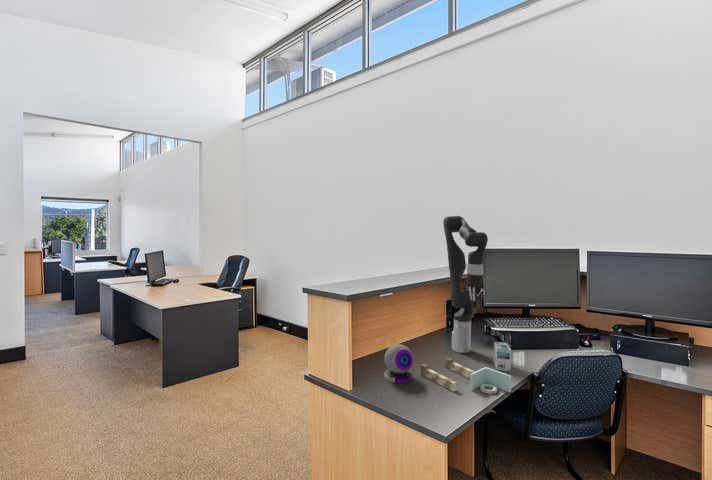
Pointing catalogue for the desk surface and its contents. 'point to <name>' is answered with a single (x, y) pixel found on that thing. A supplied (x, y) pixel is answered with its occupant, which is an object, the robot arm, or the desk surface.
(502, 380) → the right angle wall
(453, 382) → the rack
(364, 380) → the desk surface
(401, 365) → the webcam
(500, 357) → the light bulb box
